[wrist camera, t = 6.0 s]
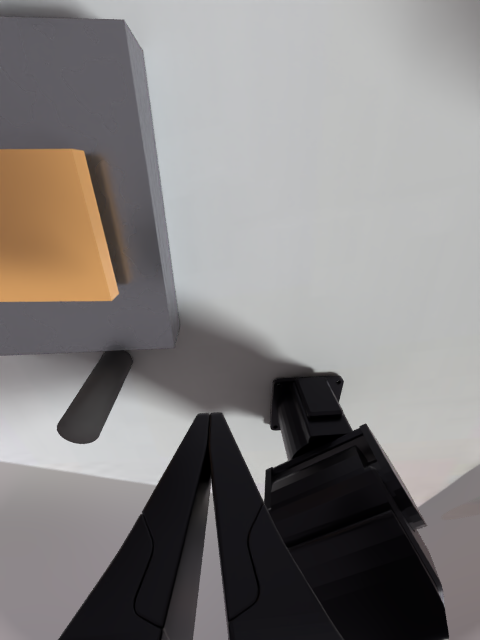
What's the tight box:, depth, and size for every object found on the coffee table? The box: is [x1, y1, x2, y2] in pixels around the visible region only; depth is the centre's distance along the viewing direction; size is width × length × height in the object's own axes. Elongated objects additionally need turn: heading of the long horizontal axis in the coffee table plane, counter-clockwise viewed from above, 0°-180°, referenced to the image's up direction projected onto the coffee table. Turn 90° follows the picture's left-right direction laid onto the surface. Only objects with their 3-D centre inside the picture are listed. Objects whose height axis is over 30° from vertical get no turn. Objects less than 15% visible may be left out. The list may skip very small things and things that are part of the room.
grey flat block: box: [0, 17, 180, 356], centre depth 15 cm, size 16×12×3 cm
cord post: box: [57, 350, 133, 444], centre depth 19 cm, size 2×2×7 cm
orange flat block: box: [0, 149, 119, 302], centre depth 13 cm, size 7×8×1 cm
